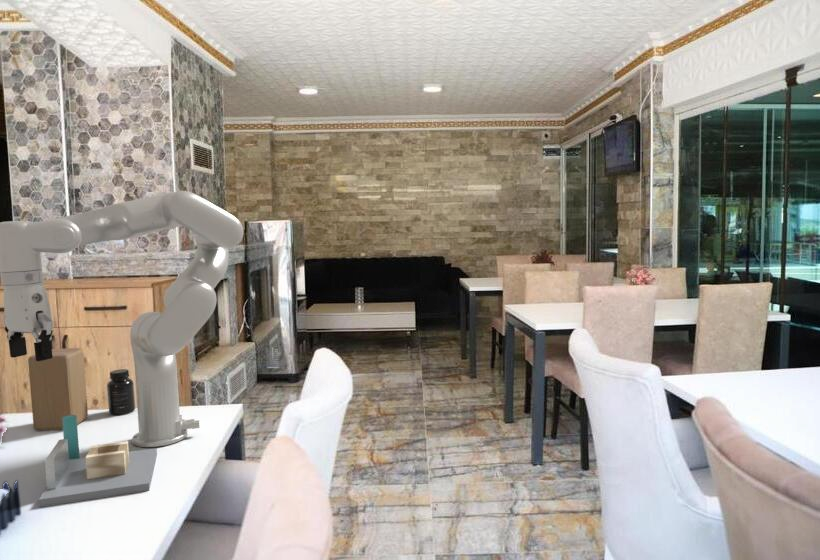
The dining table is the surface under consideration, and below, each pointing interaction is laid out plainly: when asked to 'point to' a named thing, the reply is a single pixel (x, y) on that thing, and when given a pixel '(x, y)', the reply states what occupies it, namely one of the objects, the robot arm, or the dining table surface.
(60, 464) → the backstop wall
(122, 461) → the birch block
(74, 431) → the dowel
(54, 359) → the wooden block
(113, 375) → the supplement bottle
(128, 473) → the base board
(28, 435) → the dining table surface
